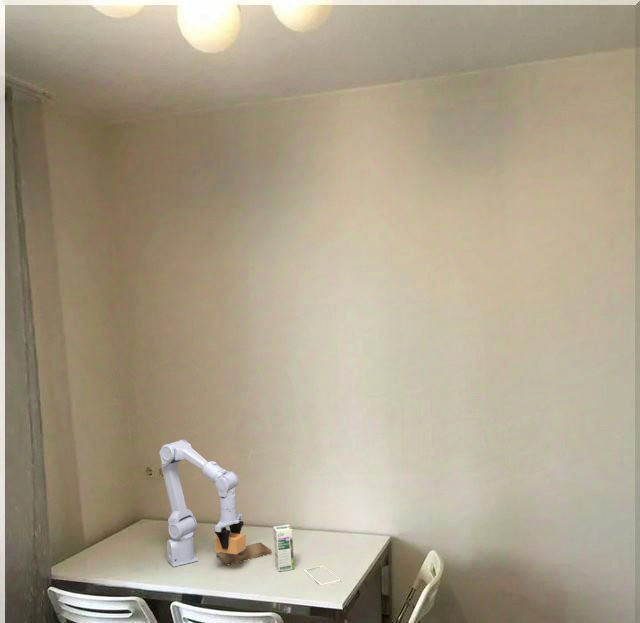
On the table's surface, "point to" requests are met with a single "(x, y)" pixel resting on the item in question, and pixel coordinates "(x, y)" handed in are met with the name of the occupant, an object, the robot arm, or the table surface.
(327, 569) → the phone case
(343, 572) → the table surface
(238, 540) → the collar
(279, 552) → the syrup box
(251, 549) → the brown piece
